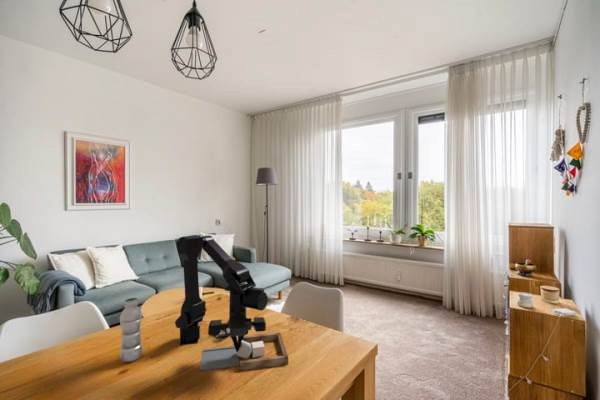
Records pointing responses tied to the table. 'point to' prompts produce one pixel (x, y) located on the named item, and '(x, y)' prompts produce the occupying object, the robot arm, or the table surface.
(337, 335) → the table surface
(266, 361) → the walnut corral
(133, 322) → the plastic bottle
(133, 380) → the table surface
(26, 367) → the table surface
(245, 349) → the cream matte cube
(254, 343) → the white square block
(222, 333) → the compass
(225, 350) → the rubber tray
